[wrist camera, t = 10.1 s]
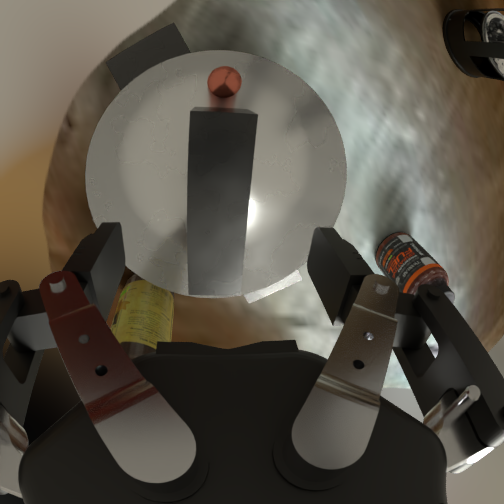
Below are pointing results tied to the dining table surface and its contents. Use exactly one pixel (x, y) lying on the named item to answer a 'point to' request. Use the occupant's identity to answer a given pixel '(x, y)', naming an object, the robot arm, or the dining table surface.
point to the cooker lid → (216, 172)
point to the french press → (492, 46)
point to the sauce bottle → (143, 317)
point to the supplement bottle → (410, 265)
